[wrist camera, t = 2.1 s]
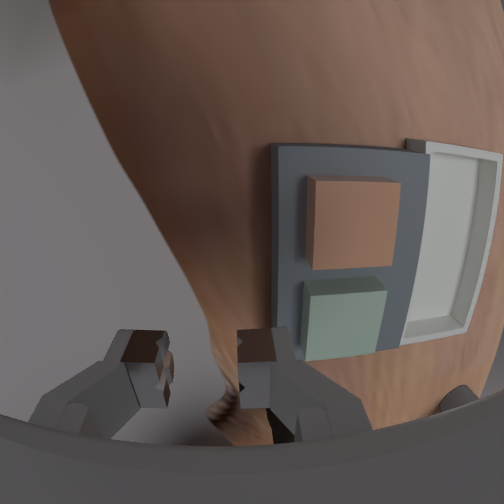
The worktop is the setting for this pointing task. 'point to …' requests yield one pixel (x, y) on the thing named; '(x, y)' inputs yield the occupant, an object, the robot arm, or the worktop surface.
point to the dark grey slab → (294, 228)
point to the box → (452, 238)
